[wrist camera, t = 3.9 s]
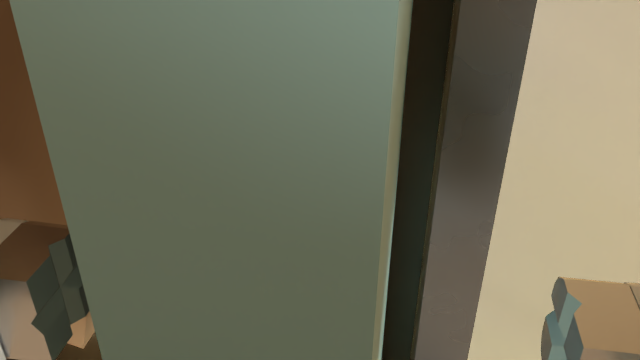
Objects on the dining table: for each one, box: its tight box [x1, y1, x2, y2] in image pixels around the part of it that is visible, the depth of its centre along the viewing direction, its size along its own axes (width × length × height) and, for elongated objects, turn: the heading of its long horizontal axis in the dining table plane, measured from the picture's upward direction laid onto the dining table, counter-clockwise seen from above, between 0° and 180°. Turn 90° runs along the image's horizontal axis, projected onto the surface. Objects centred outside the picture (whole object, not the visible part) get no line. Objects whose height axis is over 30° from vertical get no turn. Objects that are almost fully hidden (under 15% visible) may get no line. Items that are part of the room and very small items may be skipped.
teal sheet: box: [9, 0, 413, 360], centre depth 10 cm, size 2×14×9 cm, turn 0°
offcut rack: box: [6, 0, 537, 360], centre depth 12 cm, size 15×20×7 cm
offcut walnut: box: [0, 0, 95, 349], centre depth 14 cm, size 4×10×2 cm, turn 164°
